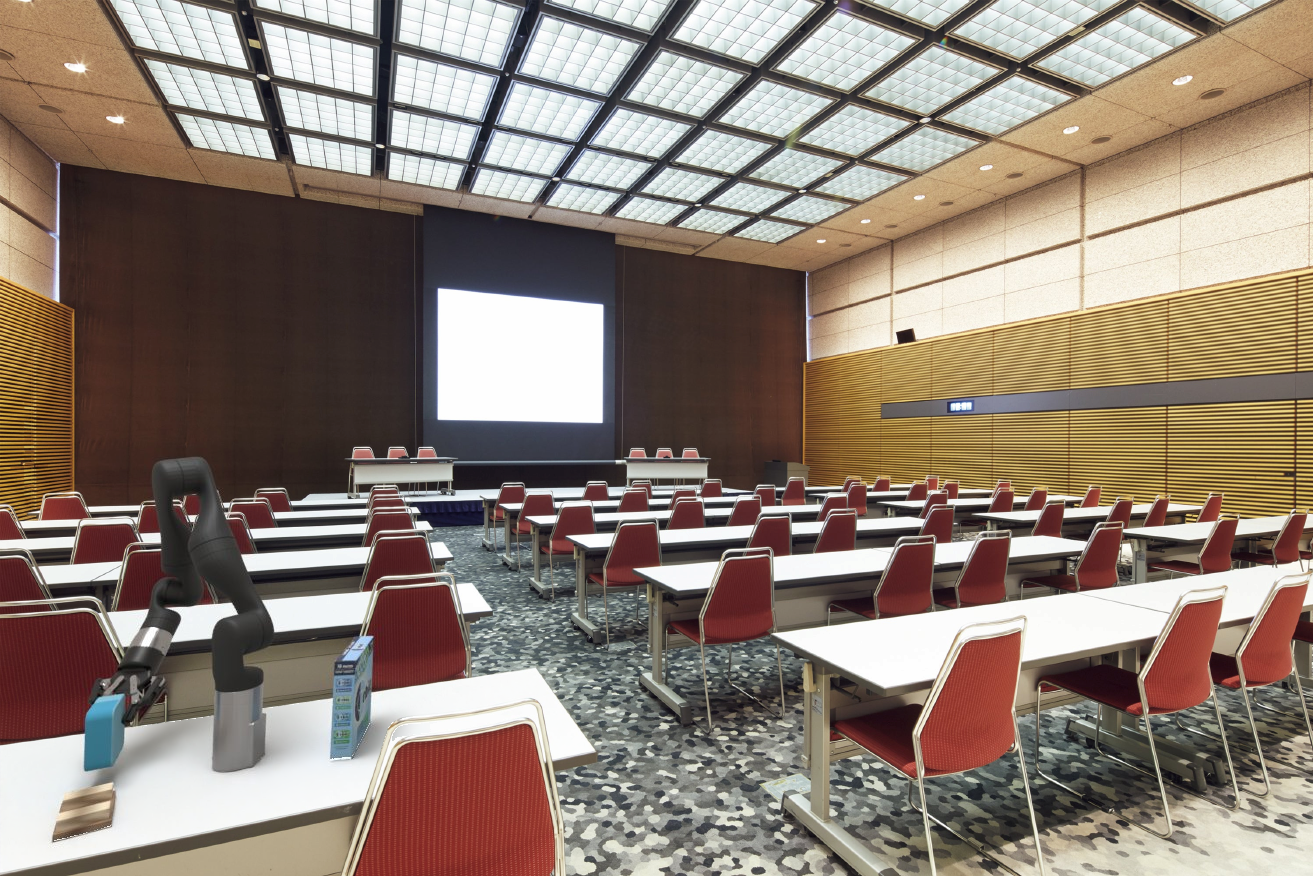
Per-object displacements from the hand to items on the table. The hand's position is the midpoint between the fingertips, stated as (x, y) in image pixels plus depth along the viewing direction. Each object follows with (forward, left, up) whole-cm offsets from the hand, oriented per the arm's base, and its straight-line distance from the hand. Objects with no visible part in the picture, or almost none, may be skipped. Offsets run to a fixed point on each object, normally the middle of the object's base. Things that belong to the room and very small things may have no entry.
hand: (108, 724), depth 136 cm
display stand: (-8, +17, -11) cm, 22 cm away
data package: (-2, +3, -6) cm, 7 cm away
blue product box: (-47, -11, -11) cm, 49 cm away
